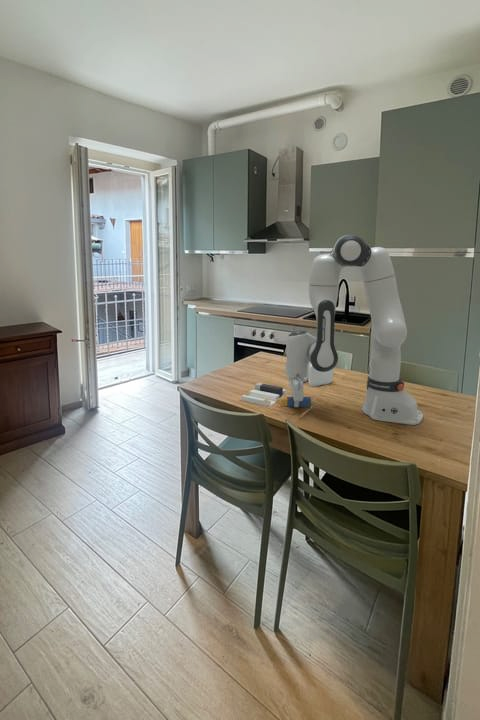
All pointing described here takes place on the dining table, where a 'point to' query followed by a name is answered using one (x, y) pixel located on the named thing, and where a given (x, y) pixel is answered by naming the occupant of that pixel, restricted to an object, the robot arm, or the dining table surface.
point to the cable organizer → (318, 376)
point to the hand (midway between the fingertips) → (295, 403)
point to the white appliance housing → (262, 397)
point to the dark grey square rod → (269, 389)
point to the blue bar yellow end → (290, 402)
